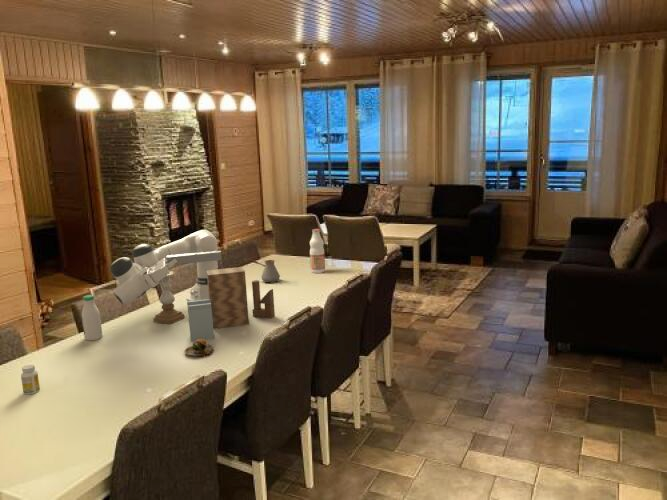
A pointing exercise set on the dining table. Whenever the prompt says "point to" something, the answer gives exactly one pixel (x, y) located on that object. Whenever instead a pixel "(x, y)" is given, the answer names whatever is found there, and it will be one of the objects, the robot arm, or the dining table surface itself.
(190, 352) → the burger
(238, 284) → the brown tall rectangular box
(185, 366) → the dining table surface
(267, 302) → the wooden block
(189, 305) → the block
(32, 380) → the supplement bottle
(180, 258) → the bar
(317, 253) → the fruit juice
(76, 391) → the dining table surface
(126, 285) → the robot arm
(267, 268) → the coffee pot
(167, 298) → the candle holder
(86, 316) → the milk bottle
